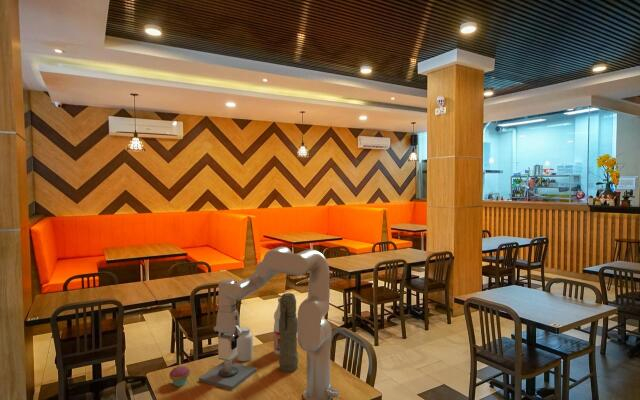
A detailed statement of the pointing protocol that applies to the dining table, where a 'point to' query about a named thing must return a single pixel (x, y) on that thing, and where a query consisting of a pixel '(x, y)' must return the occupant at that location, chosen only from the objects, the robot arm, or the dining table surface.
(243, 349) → the pill bottle
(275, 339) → the fruit juice
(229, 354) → the white rectangular block
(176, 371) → the cupcake
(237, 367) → the post base
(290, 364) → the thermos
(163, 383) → the dining table surface
